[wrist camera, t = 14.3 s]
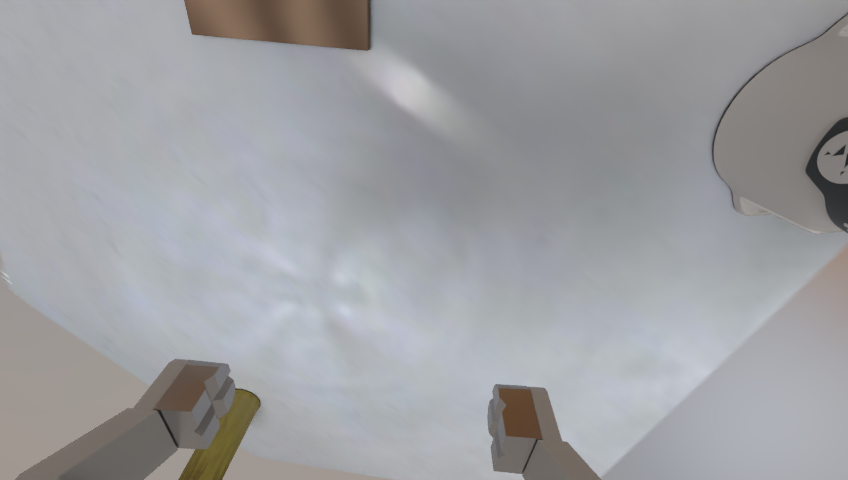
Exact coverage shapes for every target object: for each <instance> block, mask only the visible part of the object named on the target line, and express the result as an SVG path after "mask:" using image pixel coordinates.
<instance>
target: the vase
mask: <svg viewBox="0 0 848 480" xmlns="http://www.w3.org/2000/svg"><path fill="white" fill-rule="evenodd" d="M259 407H260V402H259V400H258V398H257V397H256V396H255V395H253V394H252V393H250V392H248V391H245V390H239V389H235V395H234V399H233V403H232V405H231V407H230V409H229V411H228V413H226V414H225V415H224V416H222V417H221V418H219V425H220V428H219V429H218V431H217V433H216V435H215V437H214V439H213V441H212V442H211V444H210V446H209V448H208V449H195V451H194V453H193V455H192V457H191V458H190V460H189V462H188V464H187V465H186V467H185V469H184V471H183V473H182V474H181V476H180V478H179V480H222V478H223V476H224V474H225V472H226V470H227V468H228V466H229V464H230V462H231V460H232V459H233V456H234V454H235V452H236V450H237V448H238V447H239V445H240V443H241V441H242V439H243V437H244V435H245V433H246V431H247V429H248V427H249V425H250V423H251V421H252V419H253V417H254V415H255V413H256V411H257V410H258V408H259Z"/></svg>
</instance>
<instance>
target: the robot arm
mask: <svg viewBox="0 0 848 480" xmlns="http://www.w3.org/2000/svg"><path fill="white" fill-rule="evenodd" d="M714 162H715V166H716V169H717V171H718V173H719V175H720V177H721V178H722V179H723V180H724V182H725V183H726V184H727V185H728V186H729V187H730V189H731V190H732V193H733V202H734V207H735V209H736V210H737V211H738V212H740V213H742V214H744V215H747V216H754V215H766V214H773V215H775V216H777V217H779V218H781V219H784V220H786V221H788V222H790V223H792V224H794V225H796V226H798V227H800V228H802V229H804V230H806V231H809V232H811V233H815V234H821V233H823V232H841V231H845V232H847V233H848V15H847V16H845V17H844V18H843V19H841V20H840V21H839V22H838V23H836V24H835V25H834V26H833V27H832V28H831V29H829V30H828V31H827V32H826V33H825V34H824V35H822V36H820V37H819V38H817V39H815V40H813V41H812V42H810V43H807V44H805V45H803V46H801V47H799V48H797V49H795V50H793V51H791V52H789V53H787V54H785V55H784V56H782V57H780V58H779V59H777V60H776V61H774V62H773V63H771V64H770V65H768V66H767V67H766V68H765V69H763V70H762V71H761V72H760V73H758V74H757V75H756V76H755V77H754V78H753V79H752V80H751V81H750V82H749V83H748V84H747V85H746V86H745V87H744V88H743V89H742V90H741V92H740V93H739V94H738V95H737V96H736V98H735V99H734V100H733V102H732V103H731V105H730V106H729V108H728V109H727V111H726V113H725V115H724V117H723V118H722V121H721V123H720V125H719V128H718V131H717V134H716V137H715V142H714ZM229 373H230V368H229V365H228V364H225V363H215V362H204V361H194V360H184V359H174V360H173V361H171V362H170V363H168V365H167V366H166V367H165V368H164V370H163V371H162V372H161V374H160V375H159V376H158V377H157V379H156V380H155V381H154V382H153V384H152V385H151V386H150V388H149V389H148V390H147V391H146V393H145V394H144V395H143V397H142V398H141V399H140V400H139V402H138V403H137V404H136V405H135V407H134V408H127V409H126V410H124V411H123V412H121V413H119V414H118V415H116V416H114V417H113V418H111V419H109V420H108V421H106V422H104V423H103V424H101V425H100V426H98V427H96V428H95V429H93V430H91V431H90V432H88V433H86V434H85V435H83V436H82V437H80V438H78V439H77V440H75V441H73V442H72V443H70V444H68V445H67V446H65V447H64V448H62V449H60V450H59V451H57V452H55V453H54V454H52V455H51V456H49V457H47V458H46V459H44V460H42V461H41V462H39V463H37V464H36V465H34V466H33V467H31V468H29V469H28V470H26V471H24V472H23V473H21V474H20V475H19V476H18V477H17V478H16V479H15V480H144V479H145V478H146V477H147V476H148V475H149V474H150V473H152V472H153V471H154V470H155V469H156V468H157V467H158V466H160V465H161V464H162V463H163V462H164V461H165V460H167V459H168V458H169V457H170V456H171V455H172V454H173V453H175V452H176V451H177V450H178V449H177V448H190V449H208V448H209V446H210V444H211V442H212V441H213V439H214V437H215V435H216V433H217V431H218V429H219V428H220V425H219V418H221V417H222V416H224V415H225V414H226V413H228V411H229V409H230V407H231V405H232V403H233V399H234V395H235V384H234V380H232V379H231V378H230V377H229V376H228V375H229ZM492 392H493V399H491V400H490V402H489V406H488V430H489V433H490V435H491V436H492V437H493V441H492V445H491V454H492V462H493V469H494V471H499V472H509V473H518V474H523V475H522V476H523V478H524V479H525V480H601V479H600V478H599V477H598V476H597V474H596V473H595V472H594V471H593V470H592V469H591V468H590V467H589V466H588V464H587V463H586V462H585V461H584V460H583V459H582V458H581V457H580V456H579V454H578V453H577V452H576V451H575V450H574V449H573V448H572V447H571V446H570V444H569V443H568V442H564V441H562V439H561V436H560V433H559V429H558V426H557V423H556V419H555V416H554V413H553V409H552V406H551V403H550V399H549V396H548V393H547V391H546V389H545V388H540V387H527V386H517V385H501V384H496V385H495V386H494V388H493V391H492Z"/></svg>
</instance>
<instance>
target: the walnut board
mask: <svg viewBox="0 0 848 480" xmlns="http://www.w3.org/2000/svg"><path fill="white" fill-rule="evenodd" d="M184 1H185V5H186V10H187V14H188V19H189V23H190V27H191V32H192V34H194V35H204V36H215V37H226V38H237V39H248V40H259V41H270V42H281V43H292V44H302V45H313V46H324V47H335V48H346V49H357V50H370V0H184Z"/></svg>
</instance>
